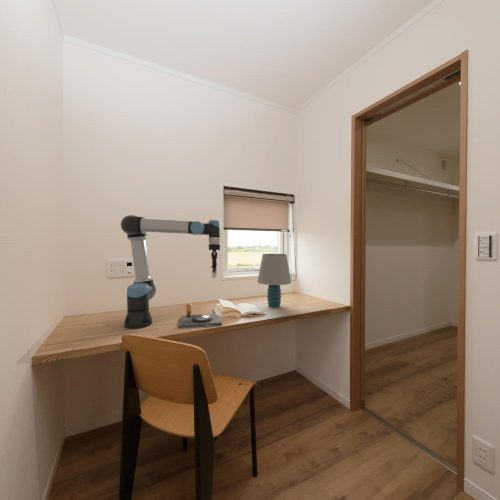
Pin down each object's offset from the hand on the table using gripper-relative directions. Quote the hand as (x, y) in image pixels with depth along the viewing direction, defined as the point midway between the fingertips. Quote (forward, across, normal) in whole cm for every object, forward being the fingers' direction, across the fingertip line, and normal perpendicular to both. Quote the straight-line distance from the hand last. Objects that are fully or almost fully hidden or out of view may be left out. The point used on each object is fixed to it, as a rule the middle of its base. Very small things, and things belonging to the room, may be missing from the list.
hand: (214, 276), depth 166 cm
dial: (+24, -13, +9) cm, 29 cm away
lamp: (+26, +16, -45) cm, 54 cm away
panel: (+26, -12, +8) cm, 30 cm away
